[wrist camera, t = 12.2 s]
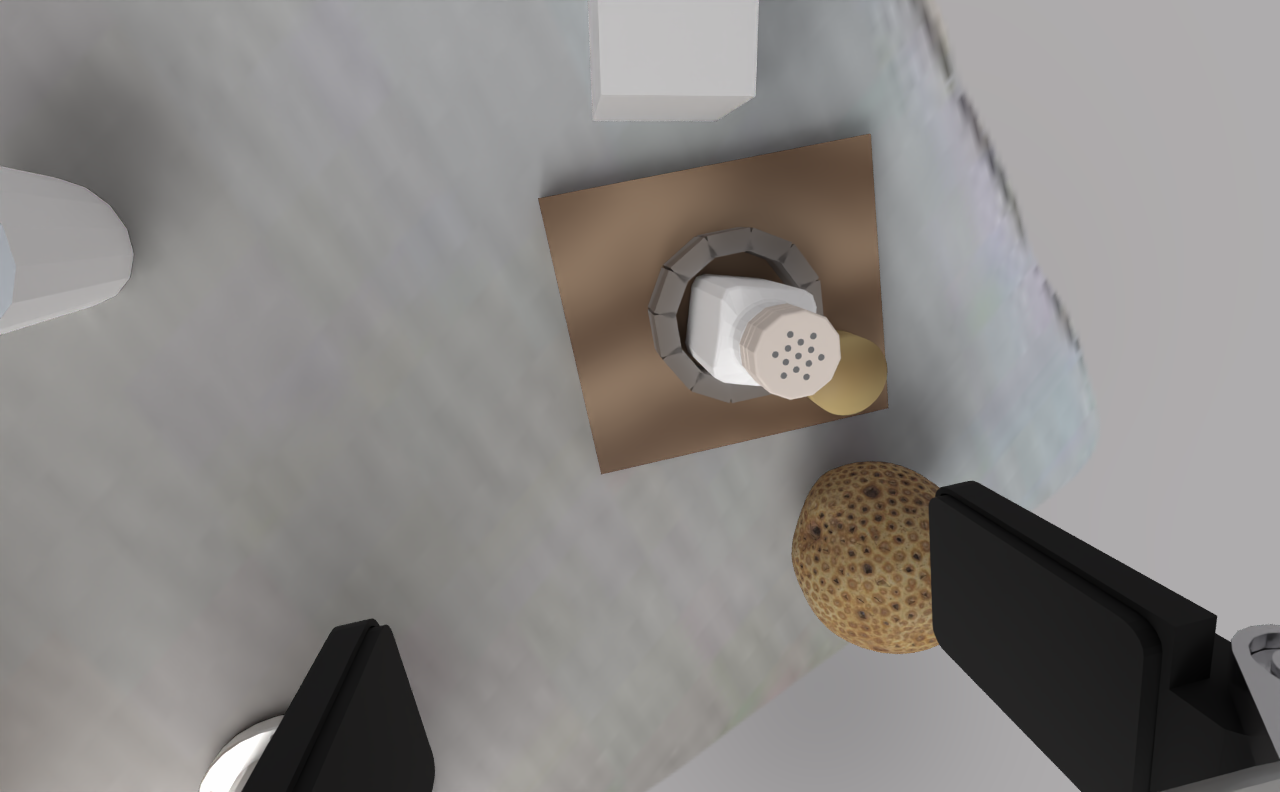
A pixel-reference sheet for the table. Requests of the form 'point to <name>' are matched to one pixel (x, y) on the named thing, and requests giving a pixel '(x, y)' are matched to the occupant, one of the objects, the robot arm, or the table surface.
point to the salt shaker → (761, 335)
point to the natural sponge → (869, 556)
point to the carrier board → (721, 245)
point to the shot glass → (56, 249)
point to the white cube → (671, 58)
